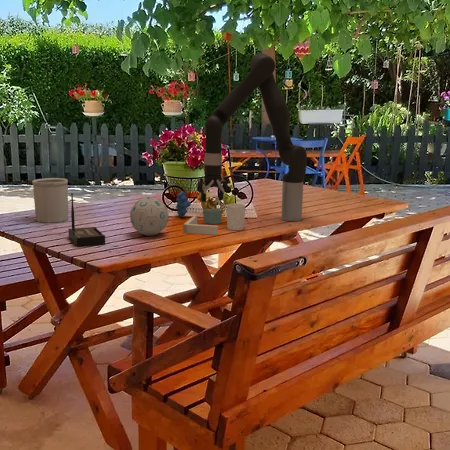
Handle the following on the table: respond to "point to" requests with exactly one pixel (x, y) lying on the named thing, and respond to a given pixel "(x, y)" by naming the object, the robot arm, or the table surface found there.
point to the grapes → (182, 204)
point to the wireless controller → (84, 234)
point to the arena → (199, 228)
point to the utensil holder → (51, 199)
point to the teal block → (212, 216)
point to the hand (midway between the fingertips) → (212, 201)
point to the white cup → (235, 216)
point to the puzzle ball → (149, 216)
